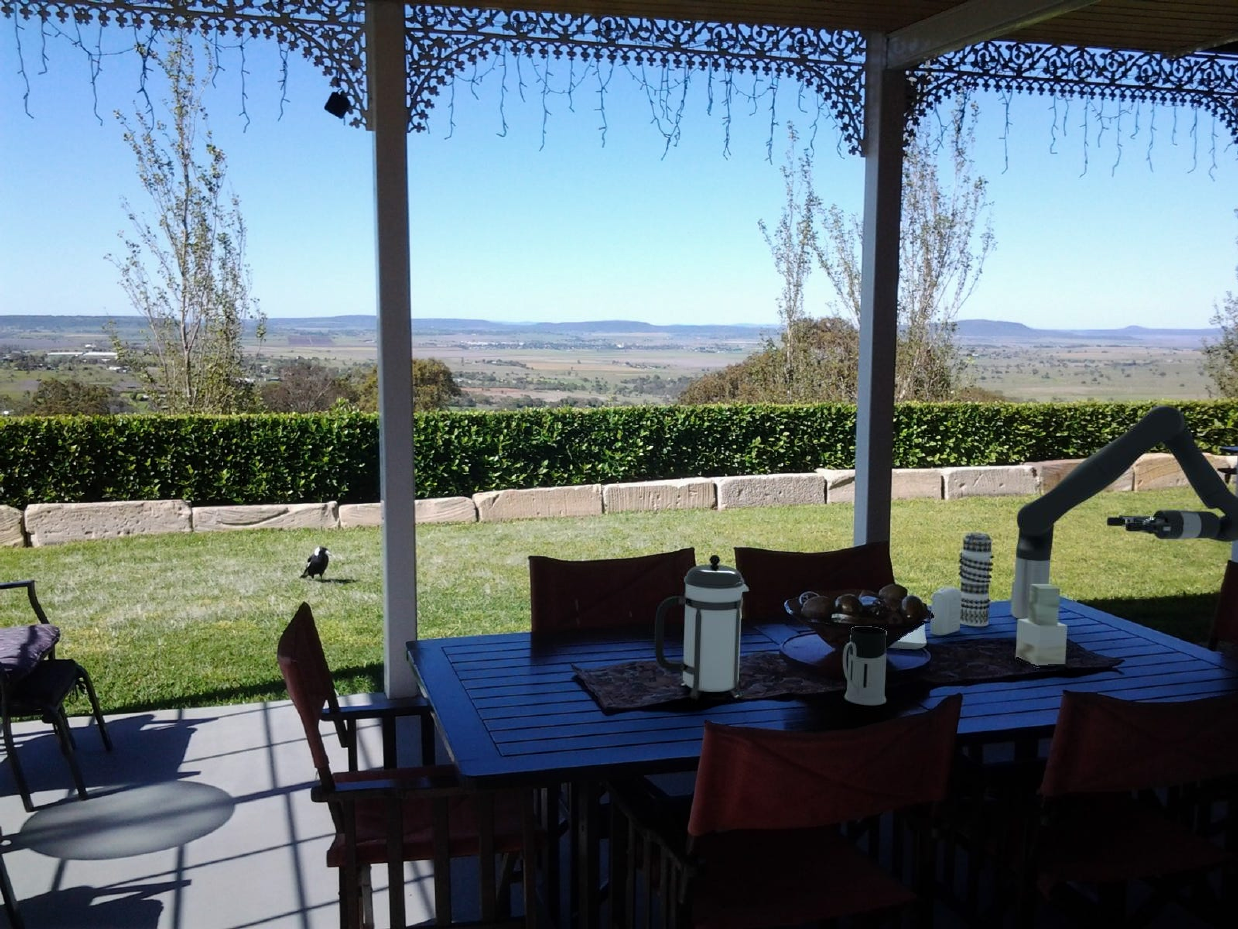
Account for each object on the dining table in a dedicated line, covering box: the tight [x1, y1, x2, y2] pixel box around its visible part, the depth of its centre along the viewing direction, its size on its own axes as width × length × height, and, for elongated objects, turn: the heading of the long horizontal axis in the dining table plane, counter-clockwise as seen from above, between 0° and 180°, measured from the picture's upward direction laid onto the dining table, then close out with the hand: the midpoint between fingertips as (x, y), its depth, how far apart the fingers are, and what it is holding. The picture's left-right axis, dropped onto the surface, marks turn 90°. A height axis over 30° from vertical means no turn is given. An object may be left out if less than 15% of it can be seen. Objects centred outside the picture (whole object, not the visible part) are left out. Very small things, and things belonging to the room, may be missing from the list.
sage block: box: [1028, 583, 1061, 625], centre depth 266 cm, size 5×5×9 cm
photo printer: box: [929, 585, 962, 636], centre depth 294 cm, size 10×4×12 cm, turn 134°
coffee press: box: [654, 554, 750, 700], centre depth 236 cm, size 17×16×30 cm
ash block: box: [1015, 639, 1067, 666], centre depth 268 cm, size 8×8×5 cm
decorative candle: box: [958, 532, 995, 627], centre depth 305 cm, size 9×9×25 cm
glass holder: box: [842, 626, 887, 706], centre depth 233 cm, size 9×14×15 cm, turn 138°
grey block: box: [1016, 618, 1068, 648], centre depth 267 cm, size 8×8×5 cm
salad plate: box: [890, 623, 927, 650], centre depth 284 cm, size 21×21×3 cm
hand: (1116, 524), depth 280 cm, fingers open, 8 cm apart
